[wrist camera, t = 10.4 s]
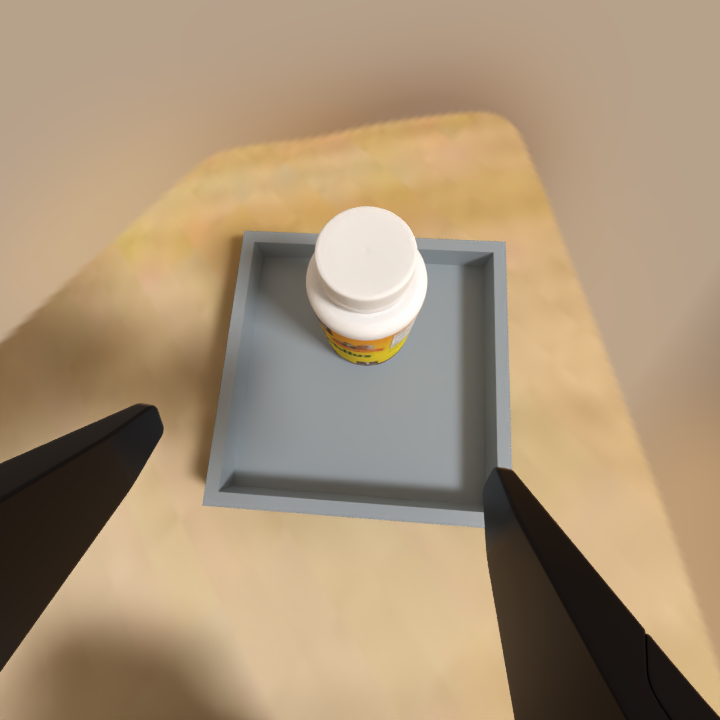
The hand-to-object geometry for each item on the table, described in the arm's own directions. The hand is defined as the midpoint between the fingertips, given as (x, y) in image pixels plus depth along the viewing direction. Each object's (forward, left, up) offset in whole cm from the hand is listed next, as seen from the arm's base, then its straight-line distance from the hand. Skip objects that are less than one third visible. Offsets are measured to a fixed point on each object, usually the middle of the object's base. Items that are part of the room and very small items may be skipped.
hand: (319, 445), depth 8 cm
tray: (+4, -1, -13) cm, 14 cm away
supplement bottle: (+7, -1, -13) cm, 15 cm away
